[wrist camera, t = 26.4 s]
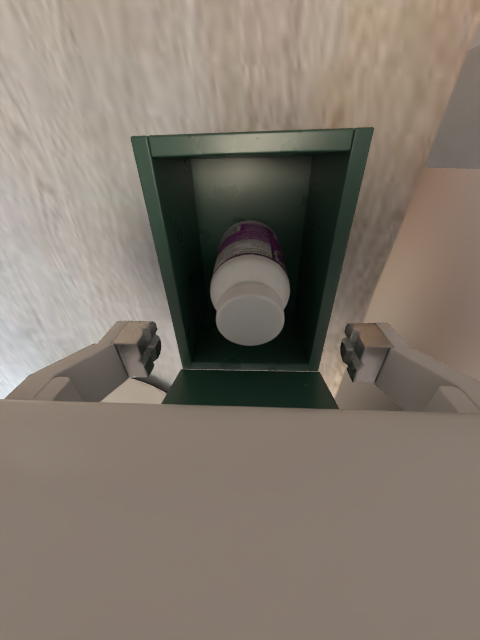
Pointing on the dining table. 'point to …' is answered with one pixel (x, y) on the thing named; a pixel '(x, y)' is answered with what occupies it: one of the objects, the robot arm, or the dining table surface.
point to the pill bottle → (249, 284)
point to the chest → (259, 205)
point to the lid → (250, 389)
